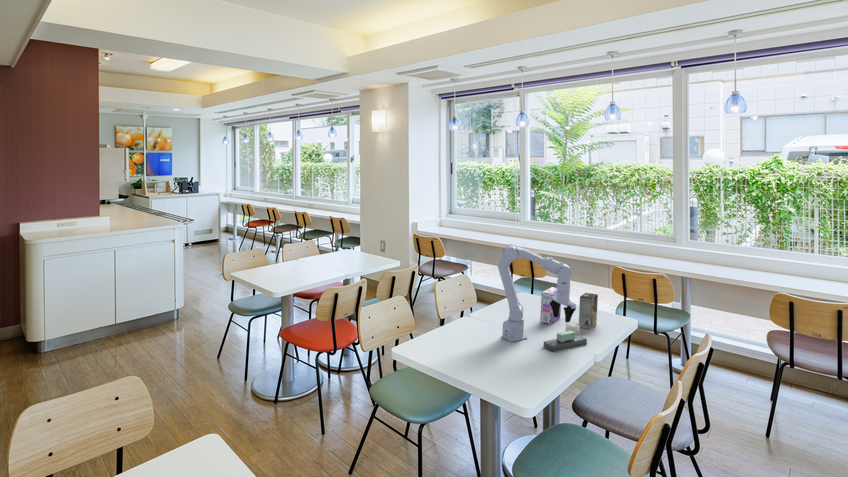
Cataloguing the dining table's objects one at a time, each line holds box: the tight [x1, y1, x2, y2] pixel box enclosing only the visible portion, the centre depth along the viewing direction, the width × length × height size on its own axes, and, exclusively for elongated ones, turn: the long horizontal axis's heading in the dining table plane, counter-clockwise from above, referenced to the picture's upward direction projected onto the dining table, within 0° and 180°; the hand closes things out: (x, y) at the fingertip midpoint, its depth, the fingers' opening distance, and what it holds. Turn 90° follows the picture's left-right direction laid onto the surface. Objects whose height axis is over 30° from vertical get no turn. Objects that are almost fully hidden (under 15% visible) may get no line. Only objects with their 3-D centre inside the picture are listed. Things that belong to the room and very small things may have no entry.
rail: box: [543, 334, 588, 353], centre depth 209 cm, size 20×6×2 cm, turn 116°
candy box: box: [539, 286, 562, 325], centre depth 243 cm, size 14×6×16 cm, turn 143°
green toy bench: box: [556, 330, 575, 343], centre depth 209 cm, size 8×3×6 cm, turn 116°
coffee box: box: [578, 292, 599, 330], centre depth 234 cm, size 9×6×16 cm
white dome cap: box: [565, 322, 581, 336], centre depth 223 cm, size 6×6×5 cm
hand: (561, 319), depth 213 cm, fingers open, 7 cm apart
